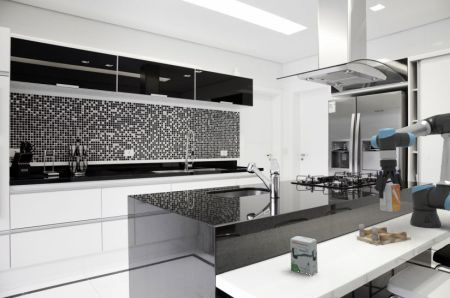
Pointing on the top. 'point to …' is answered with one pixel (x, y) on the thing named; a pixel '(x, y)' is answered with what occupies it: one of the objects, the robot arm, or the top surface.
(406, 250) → the top surface
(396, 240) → the board
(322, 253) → the top surface
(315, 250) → the ink box
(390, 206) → the small box
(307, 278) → the top surface
